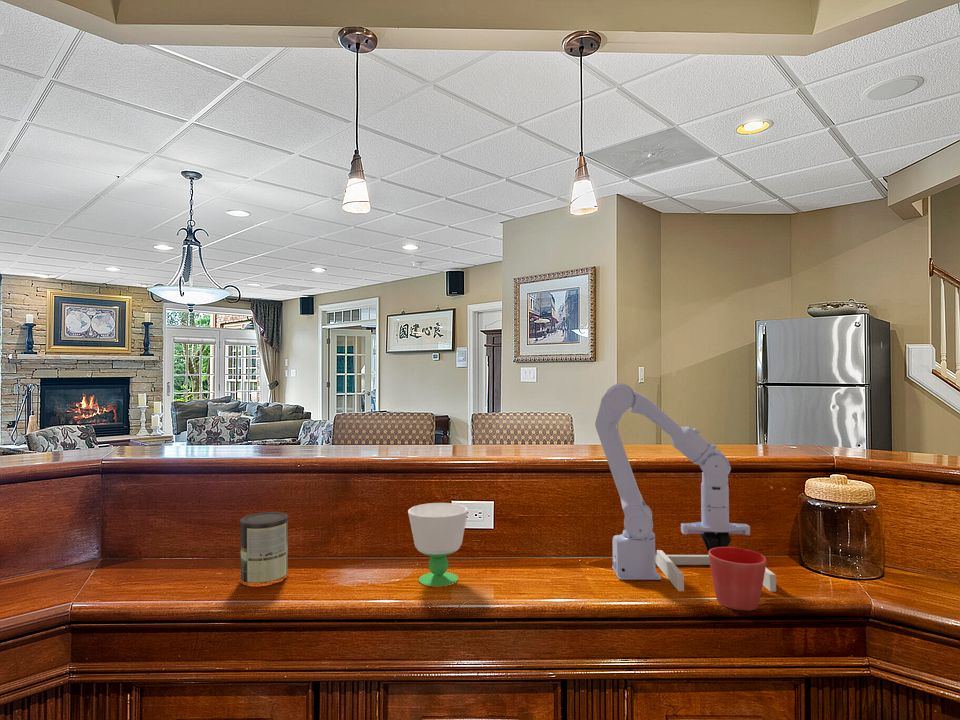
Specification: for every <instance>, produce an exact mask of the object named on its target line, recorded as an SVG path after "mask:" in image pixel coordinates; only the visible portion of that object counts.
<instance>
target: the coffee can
mask: <svg viewBox="0 0 960 720" xmlns="http://www.w3.org/2000/svg"><path fill="white" fill-rule="evenodd" d="M288 520H289V515H288V514H287V513H284V512H279V511H265V512H257V513H252V514H248V515H245V516H244V517H242V518H240V519H239V523H240V581H241V580H242V581H244V582H247V583H267V582H271V581H275V580H278V579H281V578H283V577H285V576H286V575H287V574H288V573H289V572H288V562H289V561H288V560H289V559H288V549H289V548H288V546H289V545H288Z"/></svg>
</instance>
